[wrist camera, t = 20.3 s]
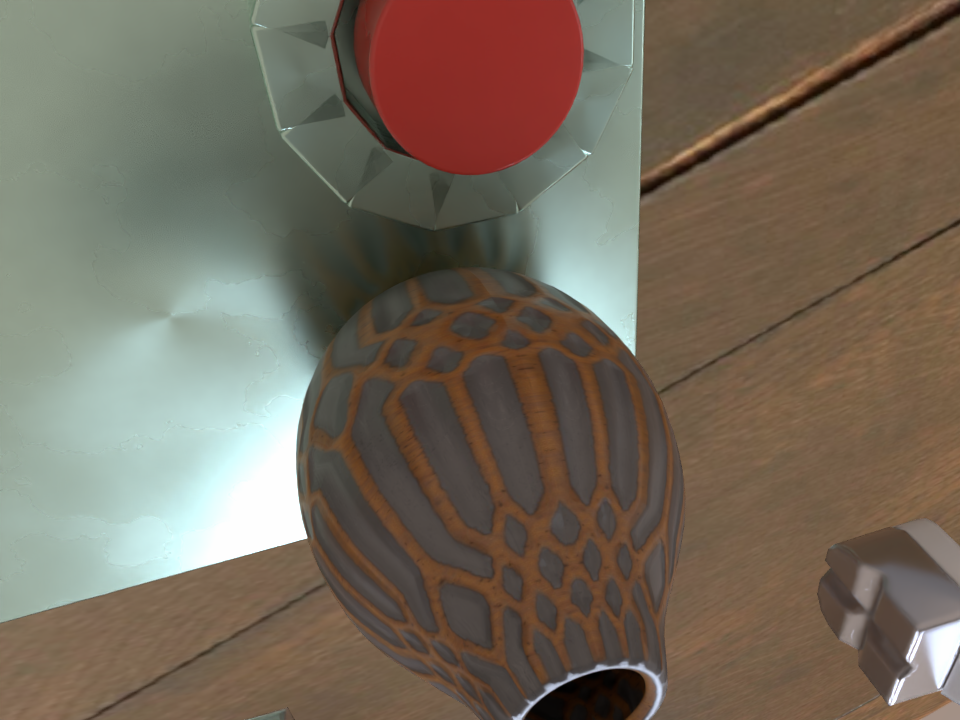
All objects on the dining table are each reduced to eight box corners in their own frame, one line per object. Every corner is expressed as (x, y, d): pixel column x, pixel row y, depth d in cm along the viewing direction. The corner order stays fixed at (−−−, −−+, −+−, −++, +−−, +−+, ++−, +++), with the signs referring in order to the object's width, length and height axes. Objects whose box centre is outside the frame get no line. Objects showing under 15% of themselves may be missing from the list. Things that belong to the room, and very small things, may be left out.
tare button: (540, -85, 11) (583, -75, 10) (549, 122, 13) (588, 155, 12) (333, -54, 11) (348, -39, 10) (373, 157, 13) (391, 195, 11)
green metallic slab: (616, -212, 13) (702, -224, 11) (613, 417, 22) (661, 489, 19) (-797, -36, 10) (-1120, 2, 8) (-148, 622, 18) (-204, 738, 16)
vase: (304, 497, 18) (351, 902, 11) (262, 235, 14) (295, 606, 7) (571, 450, 20) (757, 780, 13) (598, 203, 16) (886, 484, 9)
